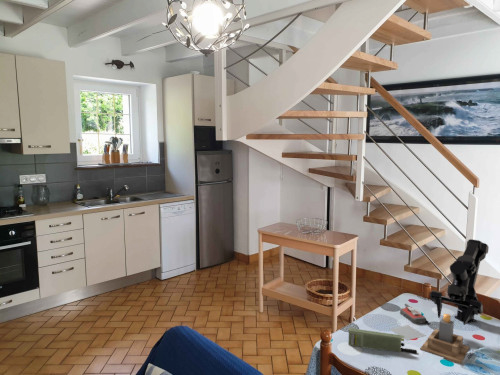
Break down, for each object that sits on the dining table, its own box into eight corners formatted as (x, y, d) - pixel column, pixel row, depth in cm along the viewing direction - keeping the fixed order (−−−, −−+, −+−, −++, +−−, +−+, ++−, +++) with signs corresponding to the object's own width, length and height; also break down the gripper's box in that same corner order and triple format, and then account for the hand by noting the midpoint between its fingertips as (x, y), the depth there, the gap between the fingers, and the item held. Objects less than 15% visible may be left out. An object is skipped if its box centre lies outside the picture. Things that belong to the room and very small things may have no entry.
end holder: (430, 337, 157) (431, 325, 157) (469, 348, 148) (470, 336, 148) (420, 350, 147) (420, 338, 146) (460, 364, 138) (461, 351, 137)
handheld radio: (348, 342, 154) (416, 352, 146) (348, 346, 151) (416, 357, 143) (349, 326, 153) (416, 336, 145) (348, 330, 150) (417, 340, 142)
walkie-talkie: (433, 325, 168) (407, 306, 188) (433, 316, 168) (407, 298, 187) (414, 327, 167) (390, 307, 186) (415, 317, 166) (391, 299, 186)
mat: (407, 326, 167) (407, 324, 167) (425, 336, 158) (426, 335, 158) (389, 330, 163) (389, 329, 163) (407, 341, 154) (407, 340, 154)
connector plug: (441, 343, 150) (442, 312, 149) (452, 347, 148) (454, 315, 146) (438, 347, 147) (439, 315, 146) (449, 351, 145) (451, 318, 143)
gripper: (432, 271, 160) (422, 305, 153) (483, 282, 148) (475, 319, 141) (436, 284, 167) (427, 317, 160) (486, 295, 155) (478, 331, 148)
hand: (451, 320), depth 152 cm, fingers open, 9 cm apart
